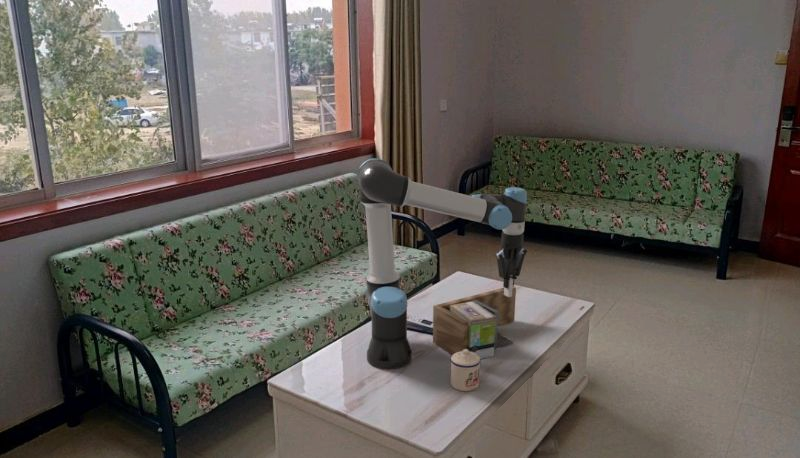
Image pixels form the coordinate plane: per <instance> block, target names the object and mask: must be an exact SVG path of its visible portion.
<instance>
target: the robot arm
mask: <svg viewBox="0 0 800 458" xmlns="http://www.w3.org/2000/svg"><path fill="white" fill-rule="evenodd" d="M356 179H357V182H358V189H359V200H360V201H359V202H360V203H361V204H362V205H363V206H364V210H365V222H366V235H367V247H368V259H369V262H368V263H369V273H368V274H367V275H366V292H365V295H366V300H367V302H368V305H369V310H370V316H371V339H370V342H369V344H368V347H367V351H366V360H367V363H368V364H370V365H371V366H372V367H375V368H379V369H383V370H385V369H386V370H394V369H400V368H404V367H405V366H408V365H409V364H410V363H411V362H412V359H413V351H412V348H411V345H410V342H409V339H408V331H407V330H408V322H407V321H408V298H407V294H406V293H405V292H404V290H402V288H401V276H400V273H398V271H396V265H395V264H396V263H395V252H394V251H395V250H394V249H395V248H394V236H393V234H394V233H393V232H394V231H393V218H392V216H393V215H392V206H396V207H400V208H401V207H404V206H411V207H415V208H419V209H423V210H427V211H431V212H434V213H435V212H436V213H439V214H443V215H446V216H447V215H448V216H452V217H456V218H460V219H463V220H469V221H473V222H476V223H477V222H478V223H481V224H484V225H489V226H490V227H492V228H493V229H496V230H502V232H501V238H500V239H501V244H502V245H501V247H500V251H499V252H495V254H494V255H495V257H496V261H497V267H498V276H499V277H500V278H501V279H503V283H502V284H503V285H502V288H504V295H505V296H507V297H512V289H513V286H514V287H515V280H517V279H518V277H519V276H520V274H521V271H522V267H523V263H524V260H525V256H526V254H527V252H528V250H527V249H525V248H523V246H522V244H523V243H524V232H525V222H526V221H525V220H526V213H527V212H526V210H527V203H528V200H527V199H528V196H527V190H526V189H524V188H522V187H513V186H512V187H507V188H505V190H504V193H502V194H501V193H500V194H496V193H495V194H490V193H486V194H483V193H479V194H472V195H468V194H463V193H461V192H460V193H459V192H456V191H453V190H450V189H449V190H448V189H445V188H444V189H443V188H440V187H436V186H432V185H429V184H424V183H421V182H418V181H417V182H415V181H412V180H411V179H410V177H409V176H407V175H406V176H405V175H402V174H400V173H397V172H396V171H394V170H393V169H392V167H391V165H390V164H389V163H388V162H387V161H385V160H384V159H380V158H369V159H367V160H366V161H364V162H363V163H362V164H361V165H360V166H359V168H358V170H357V174H356Z"/></svg>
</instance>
